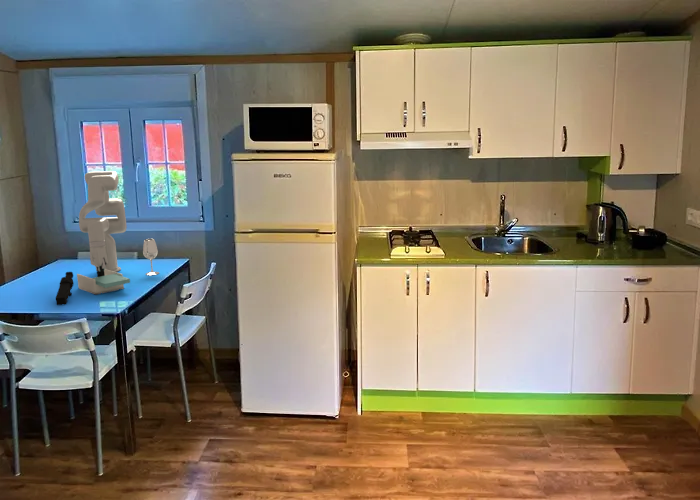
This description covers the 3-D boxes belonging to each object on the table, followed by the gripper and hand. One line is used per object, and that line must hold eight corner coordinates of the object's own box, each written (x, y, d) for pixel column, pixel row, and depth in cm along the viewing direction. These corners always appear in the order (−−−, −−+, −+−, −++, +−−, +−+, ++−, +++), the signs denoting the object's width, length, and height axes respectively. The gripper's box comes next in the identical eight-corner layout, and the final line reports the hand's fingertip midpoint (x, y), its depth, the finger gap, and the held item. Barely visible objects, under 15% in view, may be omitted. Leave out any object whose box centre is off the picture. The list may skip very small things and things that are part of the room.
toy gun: (77, 285, 311) (74, 268, 306) (69, 312, 290) (65, 295, 285) (66, 286, 310) (62, 269, 305) (57, 313, 289) (53, 296, 284)
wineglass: (155, 275, 341) (152, 241, 336) (142, 275, 342) (139, 240, 338) (162, 272, 348) (159, 238, 344) (149, 272, 350) (146, 238, 346)
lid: (91, 282, 308) (90, 278, 307) (115, 277, 317) (114, 273, 317) (105, 287, 297) (104, 284, 297) (130, 282, 306) (129, 278, 306)
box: (78, 288, 317) (76, 273, 315) (106, 282, 327) (104, 268, 326) (95, 294, 303) (94, 279, 302) (123, 288, 314) (122, 274, 312)
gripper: (83, 243, 312) (87, 277, 316) (96, 246, 302) (100, 282, 305) (98, 241, 317) (101, 274, 321) (111, 244, 307) (114, 279, 311)
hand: (101, 278), depth 313 cm, fingers closed
